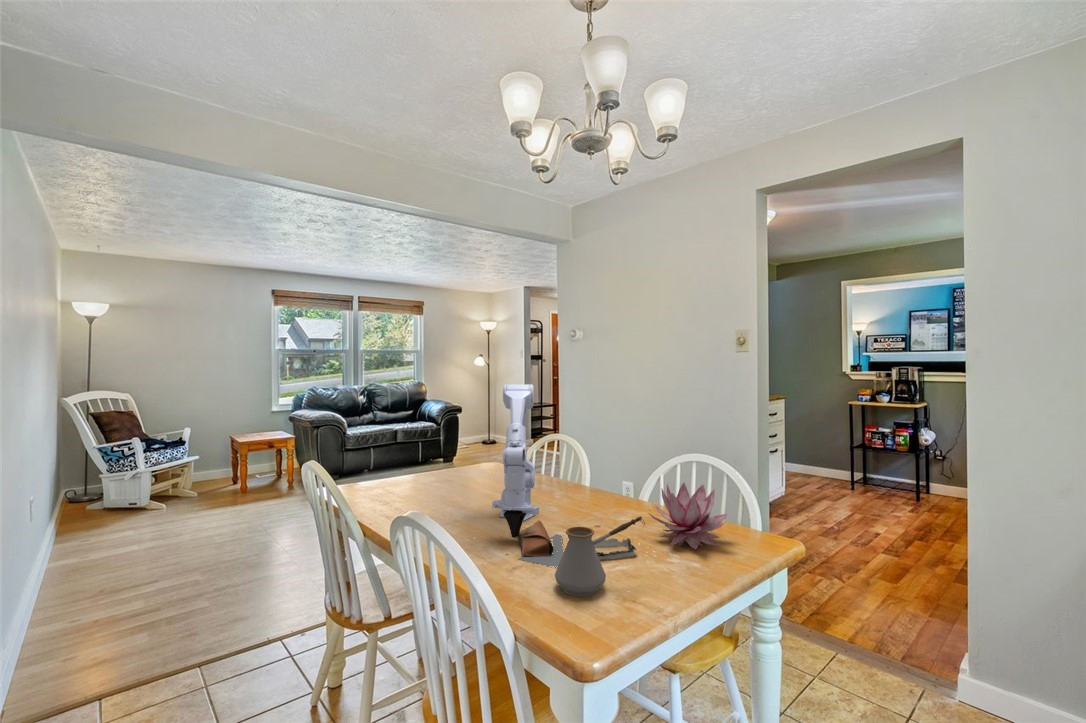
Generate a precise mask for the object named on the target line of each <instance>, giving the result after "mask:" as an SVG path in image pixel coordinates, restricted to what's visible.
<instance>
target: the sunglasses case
mask: <svg viewBox="0 0 1086 723" xmlns="http://www.w3.org/2000/svg"><path fill="white" fill-rule="evenodd" d="M517 538H518V539H519V541H520V545H521V555H522V556H534V557H537V556H549V555H551V554H552V553H553V546H552V543H551V540H550V538H551V537H550V536H549V533H548V531H547V529H546V527H545V526H544V525H543V522H542V521H541V520H537V521H536V522H534V523H533V524H532V525H530V526H528V527H526V528H524V529H522V530H520V532H519V536H518V537H517Z"/></svg>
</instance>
